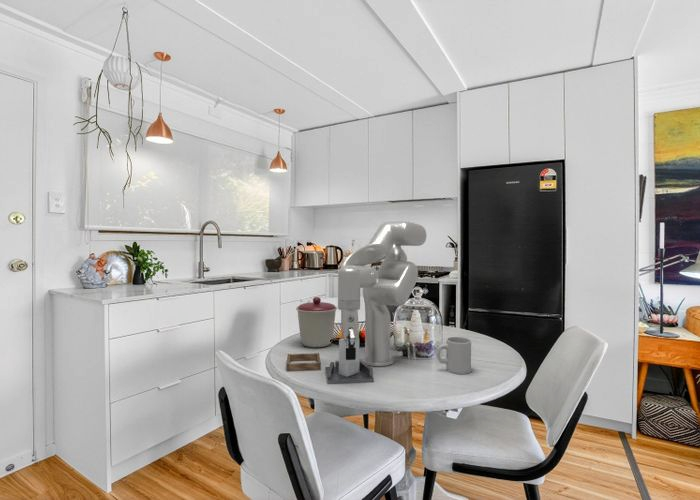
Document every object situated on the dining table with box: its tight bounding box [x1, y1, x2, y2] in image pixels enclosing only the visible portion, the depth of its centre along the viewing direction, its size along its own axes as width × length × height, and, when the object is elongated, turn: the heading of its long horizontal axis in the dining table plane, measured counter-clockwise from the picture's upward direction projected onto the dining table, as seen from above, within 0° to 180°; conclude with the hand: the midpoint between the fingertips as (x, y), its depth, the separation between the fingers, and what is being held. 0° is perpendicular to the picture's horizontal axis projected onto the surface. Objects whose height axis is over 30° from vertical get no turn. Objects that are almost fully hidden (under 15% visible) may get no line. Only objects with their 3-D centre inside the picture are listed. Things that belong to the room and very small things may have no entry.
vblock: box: [324, 359, 375, 385], centre depth 130 cm, size 15×13×4 cm
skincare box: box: [338, 337, 360, 377], centre depth 129 cm, size 6×4×12 cm
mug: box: [436, 336, 472, 375], centre depth 136 cm, size 12×8×11 cm
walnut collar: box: [286, 352, 322, 372], centre depth 141 cm, size 12×12×2 cm
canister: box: [295, 296, 338, 348], centre depth 168 cm, size 18×18×21 cm
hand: (348, 355), depth 129 cm, fingers open, 9 cm apart
